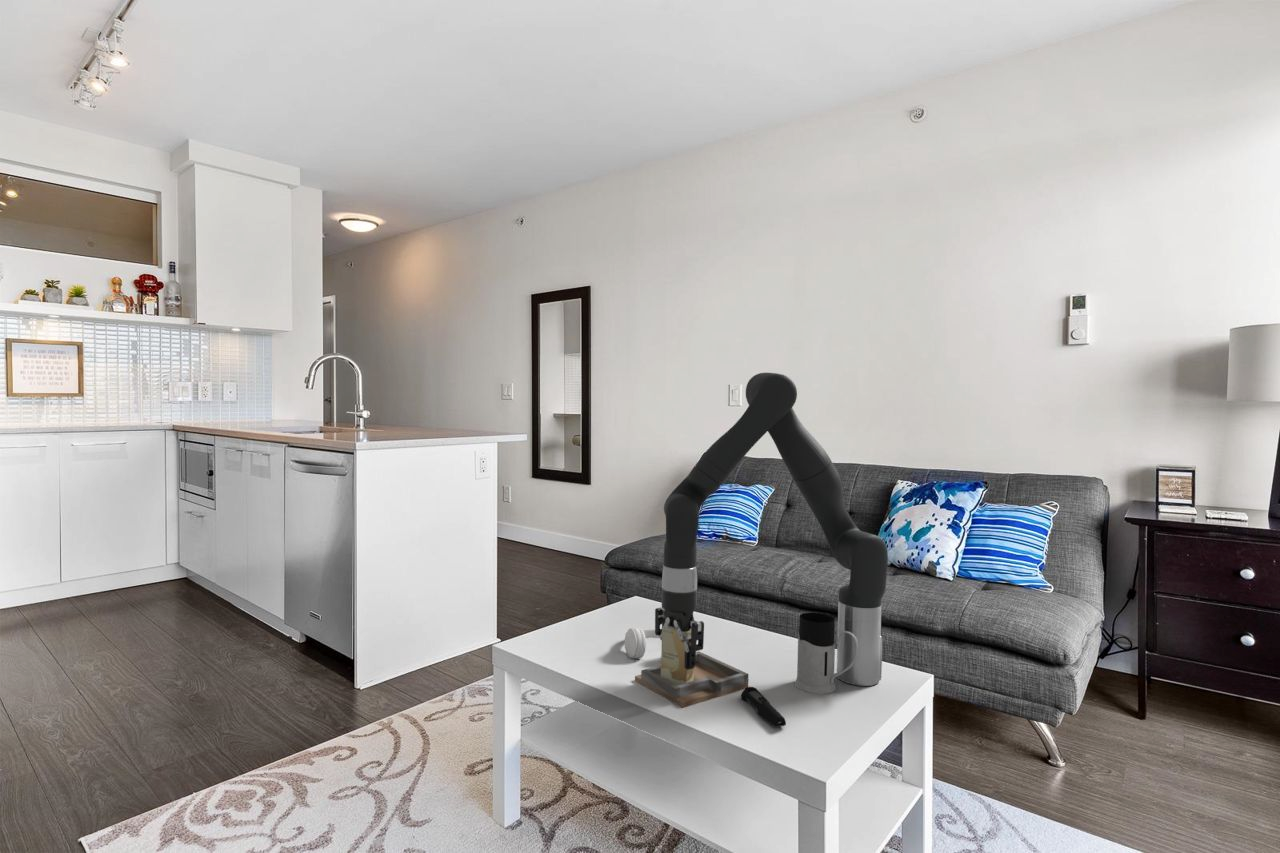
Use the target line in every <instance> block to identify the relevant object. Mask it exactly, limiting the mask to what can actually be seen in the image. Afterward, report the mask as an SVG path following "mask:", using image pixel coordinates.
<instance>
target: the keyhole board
mask: <svg viewBox="0 0 1280 853" xmlns="http://www.w3.org/2000/svg"><path fill="white" fill-rule="evenodd" d="M695 660H696V661H695V662H696V664H695V667H694V678H693V681H692V682H688V683H684V684H681V685H677V686H676V685H674V684H672V683H671V682H669V681H667V680H665V679H663V678H661V677H660V676H661V664H660V665H656V666H652V667H649V668H645V669H641V672H640V674H637V675H634V681H635V682H636V683H638V684H641V685H642V686H644V687H645V688H647V689H649V690H651V691H653V692H654V693H656V694H658V695H660V696H661V697H663V698H665V699H666V700H668V701H670V702H671V703H673V704H675V705H677V706H678V707H680V708H686V707H689V706H693V705H697V704H698V703H702V702H705V701H710V700H712V699H716V698H719V697H722V696H725V695H729V694H732V693H736V692H740V691H743V690H744V689H745V688H747V687H749V673H748V672H746V671H743V670H741V669H740V668H739V669H738V668H736V667H734V666H732V665H729V664H728V663H725V662H723V661H721V660H719V659H716V658H714V657H712V656H710V655H708V654H706V653H703V652H701V651H700V650H698V651H696V659H695Z"/></svg>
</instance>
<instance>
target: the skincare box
mask: <svg viewBox="0 0 1280 853" xmlns="http://www.w3.org/2000/svg"><path fill="white" fill-rule="evenodd" d="M683 633H684V635H685V636H687V637H688V636H689V635H691V631H686V632H683ZM688 643H689V646H690V645H691V642H690V640H688ZM661 651H662V652H661V654H660V655H661V656H660V659H661V660H660V665H661V676H660V677H661V678H663V679H665V680H667V681H669V682H671V683H672V684H674V685H676V686H677V685H681V684H684V683H688V682H692V681H693V678H694V668H693V669H689V670H687V669H685V651H686V650H685V647H684V644H683V642H681V641H680V638H679V635H678V632H677V629H676V628H674V627H672V626H664V627H663V631H662V640H661Z"/></svg>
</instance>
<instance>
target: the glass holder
mask: <svg viewBox="0 0 1280 853" xmlns="http://www.w3.org/2000/svg"><path fill="white" fill-rule="evenodd" d="M798 622H799V623H798V624H799V625H798V628H797V629H798V631H797V666H796V667H797V669H796V670H797V671H796V679H795V681H794V686H795V687H796V688H798V689H800V690H801V691H804V692H807V693H810V694H818V695H820V694H821V695H823V694H824V695H825V694H830V693H834V692H835V691H836V689H837V686H836V683H835V678H838V677H837V676H838V675H840V674H842V673H844V672H845V671H847V670H848V669H849V668H851V667H852V665H853V663H854V661H855V659H856V657H857V653H858V641H857V639H856V637H855V636H854V634H852V633H851V632H848V631H845V632H842V633H841V634H840V635H839V637H838V636H837V640H838V645H837V646H836V641H835V626H836V625H835V624H836V620H835V617H834V616H832V615H829V614H826V613H823V612H822V613H821V612H803V613H801V614H799V620H798ZM845 633H847V634H849V635H851V636H852V637H853V638H854V641H855V654H854V658H853V660H852V662H851V663H850V665H849V666H848V667H847V668H846V669H844V670H843V671H841V672H840V673H838V674H837V673H836V674H835V655H836V651H835V650H837V648H839V647H840V641H841V637H842V635H843V634H845Z"/></svg>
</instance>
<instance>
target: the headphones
mask: <svg viewBox="0 0 1280 853" xmlns="http://www.w3.org/2000/svg"><path fill="white" fill-rule="evenodd" d="M624 636H625V637H624V648H625V649H624V650H625V653H626V655H627V656H628V657H629V658H630V659H639V660H641V659H643V657H644V655H645V653H646V649H647V640H646V638H660V636H659V635H656V634H655V629H642V627H632V628H631V627H630V628H629V629H628V630H627V631H626V632H625V635H624ZM696 644H698V640H697V641H696Z"/></svg>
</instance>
